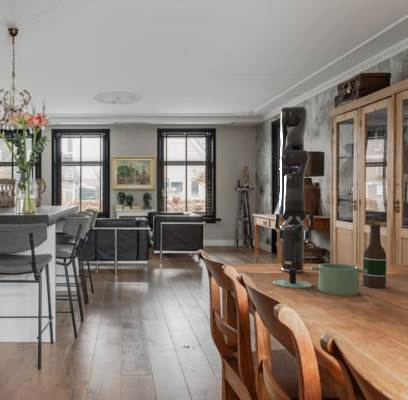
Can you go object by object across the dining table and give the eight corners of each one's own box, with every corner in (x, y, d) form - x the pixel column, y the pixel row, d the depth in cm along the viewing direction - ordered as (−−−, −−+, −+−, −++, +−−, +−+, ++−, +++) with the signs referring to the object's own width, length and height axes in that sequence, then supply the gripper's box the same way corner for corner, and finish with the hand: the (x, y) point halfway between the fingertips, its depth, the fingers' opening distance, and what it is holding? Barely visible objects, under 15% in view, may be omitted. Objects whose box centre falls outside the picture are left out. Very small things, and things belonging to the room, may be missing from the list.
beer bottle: (378, 289, 164) (379, 225, 164) (358, 285, 171) (359, 224, 171) (390, 287, 168) (391, 224, 168) (370, 283, 175) (371, 223, 175)
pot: (309, 287, 168) (309, 262, 168) (362, 290, 162) (363, 265, 162) (312, 294, 156) (313, 267, 156) (370, 298, 150) (370, 270, 150)
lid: (273, 281, 178) (273, 265, 178) (310, 283, 174) (310, 267, 174) (274, 288, 165) (274, 270, 165) (313, 291, 161) (313, 273, 161)
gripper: (312, 200, 176) (312, 240, 176) (274, 199, 181) (274, 238, 181) (314, 199, 169) (314, 241, 169) (275, 199, 174) (274, 240, 174)
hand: (293, 240), depth 175 cm, fingers open, 8 cm apart
